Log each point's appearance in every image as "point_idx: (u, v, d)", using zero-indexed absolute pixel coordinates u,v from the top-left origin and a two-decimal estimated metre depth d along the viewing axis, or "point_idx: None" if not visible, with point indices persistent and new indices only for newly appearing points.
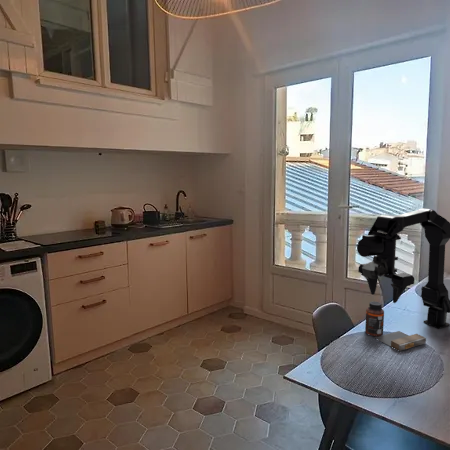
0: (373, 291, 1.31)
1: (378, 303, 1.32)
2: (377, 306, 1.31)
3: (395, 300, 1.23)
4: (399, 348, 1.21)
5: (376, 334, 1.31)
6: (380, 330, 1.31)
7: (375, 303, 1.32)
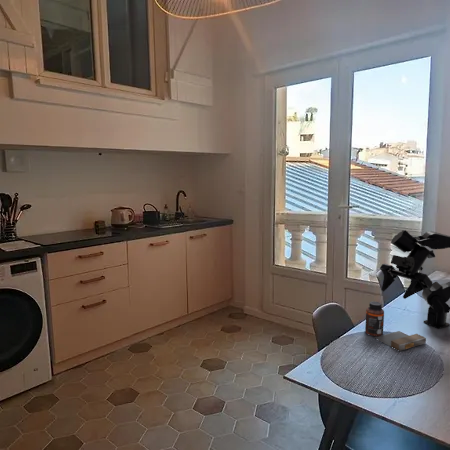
0: (384, 288, 1.39)
1: (378, 303, 1.32)
2: (377, 306, 1.31)
3: (406, 296, 1.31)
4: (399, 348, 1.21)
5: (376, 334, 1.31)
6: (380, 330, 1.31)
7: (375, 303, 1.32)
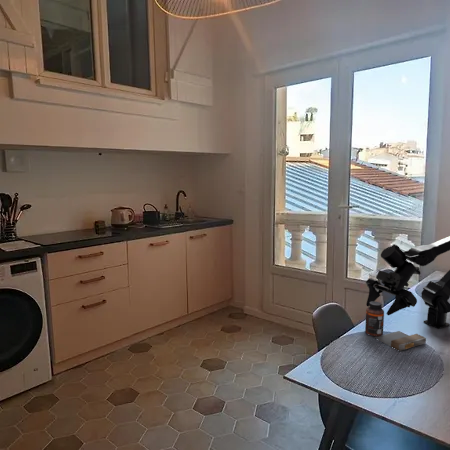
0: (369, 303, 1.38)
1: (378, 303, 1.32)
2: (377, 306, 1.31)
3: (389, 312, 1.29)
4: (399, 348, 1.21)
5: (376, 334, 1.31)
6: (380, 330, 1.31)
7: (375, 303, 1.32)
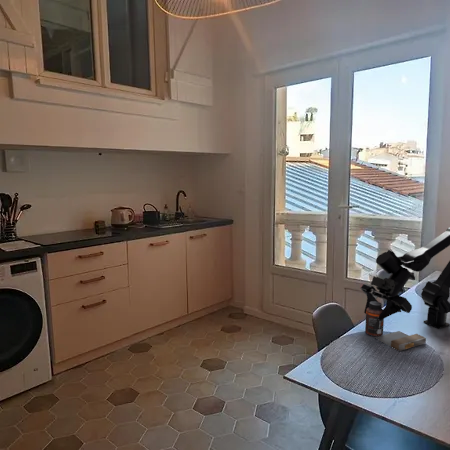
0: None
1: (378, 303, 1.32)
2: (377, 306, 1.31)
3: (381, 317, 1.29)
4: (399, 348, 1.21)
5: (376, 334, 1.31)
6: (380, 330, 1.31)
7: (375, 303, 1.32)
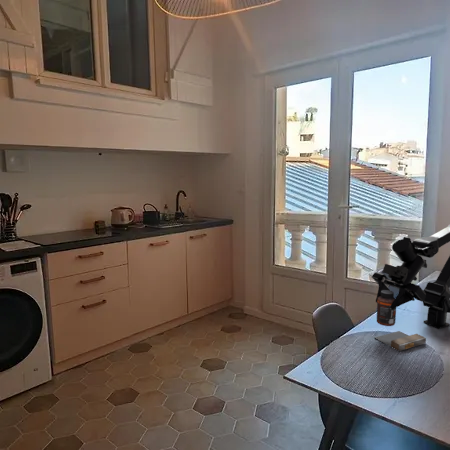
0: None
1: (390, 292, 1.27)
2: (389, 295, 1.26)
3: (393, 306, 1.24)
4: (399, 348, 1.21)
5: (388, 324, 1.26)
6: (392, 320, 1.26)
7: (387, 292, 1.27)
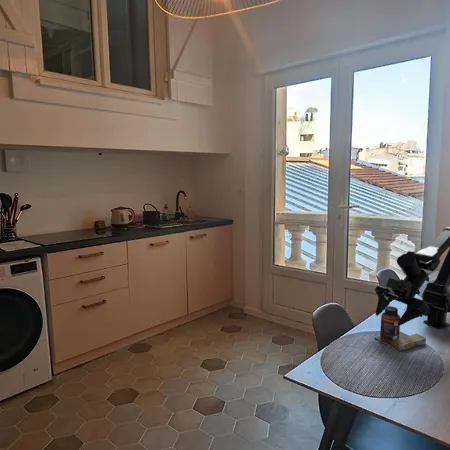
0: (378, 312, 1.31)
1: (394, 308, 1.26)
2: (393, 311, 1.25)
3: (401, 322, 1.22)
4: (399, 348, 1.21)
5: None
6: (396, 336, 1.25)
7: (391, 308, 1.26)
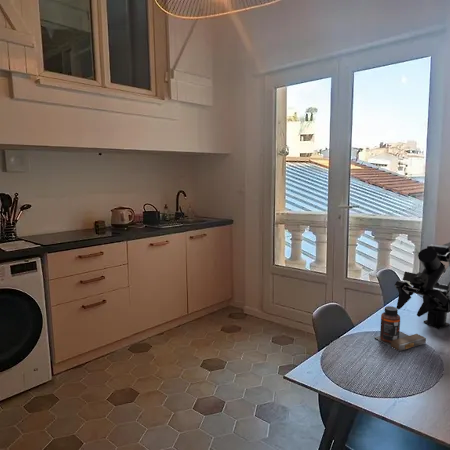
0: (399, 306, 1.35)
1: (394, 308, 1.26)
2: (393, 311, 1.25)
3: (420, 313, 1.26)
4: (399, 348, 1.21)
5: None
6: (396, 336, 1.25)
7: (391, 308, 1.26)
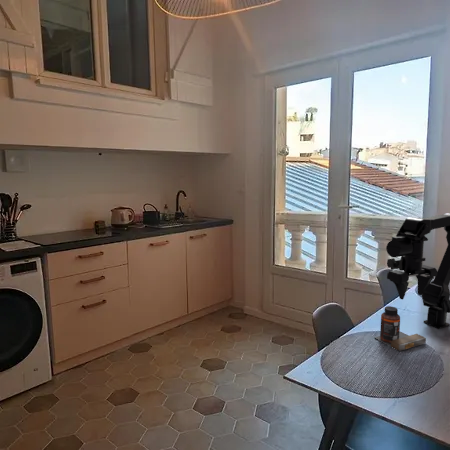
0: (419, 292, 1.35)
1: (394, 308, 1.26)
2: (393, 311, 1.25)
3: (400, 296, 1.31)
4: (399, 348, 1.21)
5: None
6: (396, 336, 1.25)
7: (391, 308, 1.26)
